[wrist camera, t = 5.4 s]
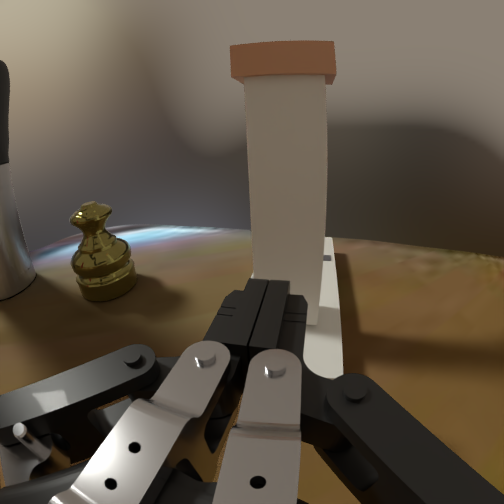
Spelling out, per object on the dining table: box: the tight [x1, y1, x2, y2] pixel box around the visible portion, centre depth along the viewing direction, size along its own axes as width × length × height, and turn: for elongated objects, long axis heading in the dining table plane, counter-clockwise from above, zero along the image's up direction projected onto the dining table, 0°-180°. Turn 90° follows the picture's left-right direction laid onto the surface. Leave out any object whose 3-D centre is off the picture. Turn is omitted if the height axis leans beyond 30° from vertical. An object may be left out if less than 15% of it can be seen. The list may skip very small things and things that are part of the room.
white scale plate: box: [251, 237, 343, 380], centre depth 25 cm, size 8×22×2 cm, turn 168°
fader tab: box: [230, 41, 336, 325], centre depth 17 cm, size 6×4×18 cm, turn 78°
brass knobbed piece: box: [70, 201, 137, 301], centre depth 27 cm, size 7×7×10 cm
